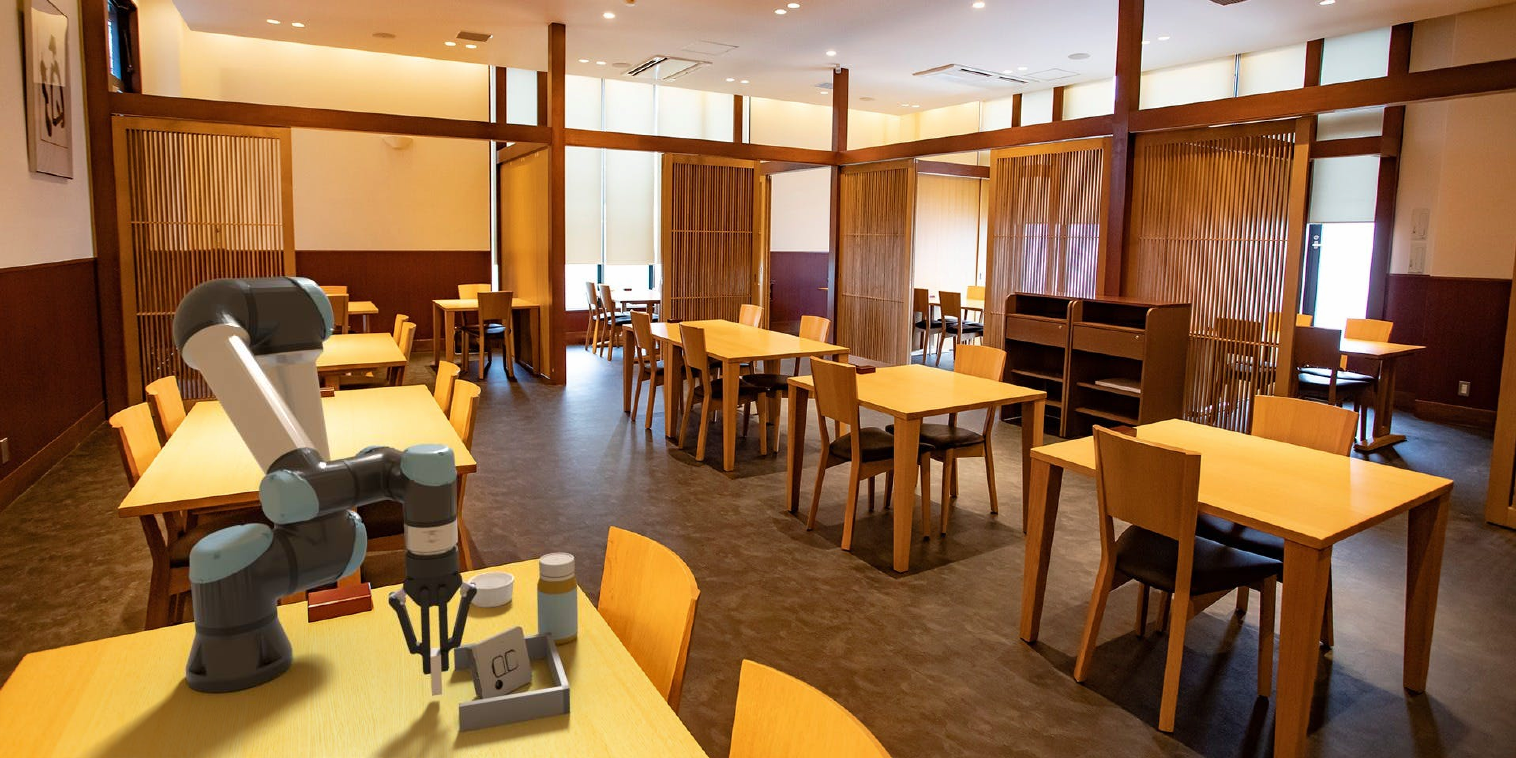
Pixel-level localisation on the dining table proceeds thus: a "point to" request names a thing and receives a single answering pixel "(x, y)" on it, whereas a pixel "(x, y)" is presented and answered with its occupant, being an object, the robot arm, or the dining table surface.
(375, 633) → the dining table surface
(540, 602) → the bottle
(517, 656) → the electrical switch
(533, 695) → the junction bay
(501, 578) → the ramekin
